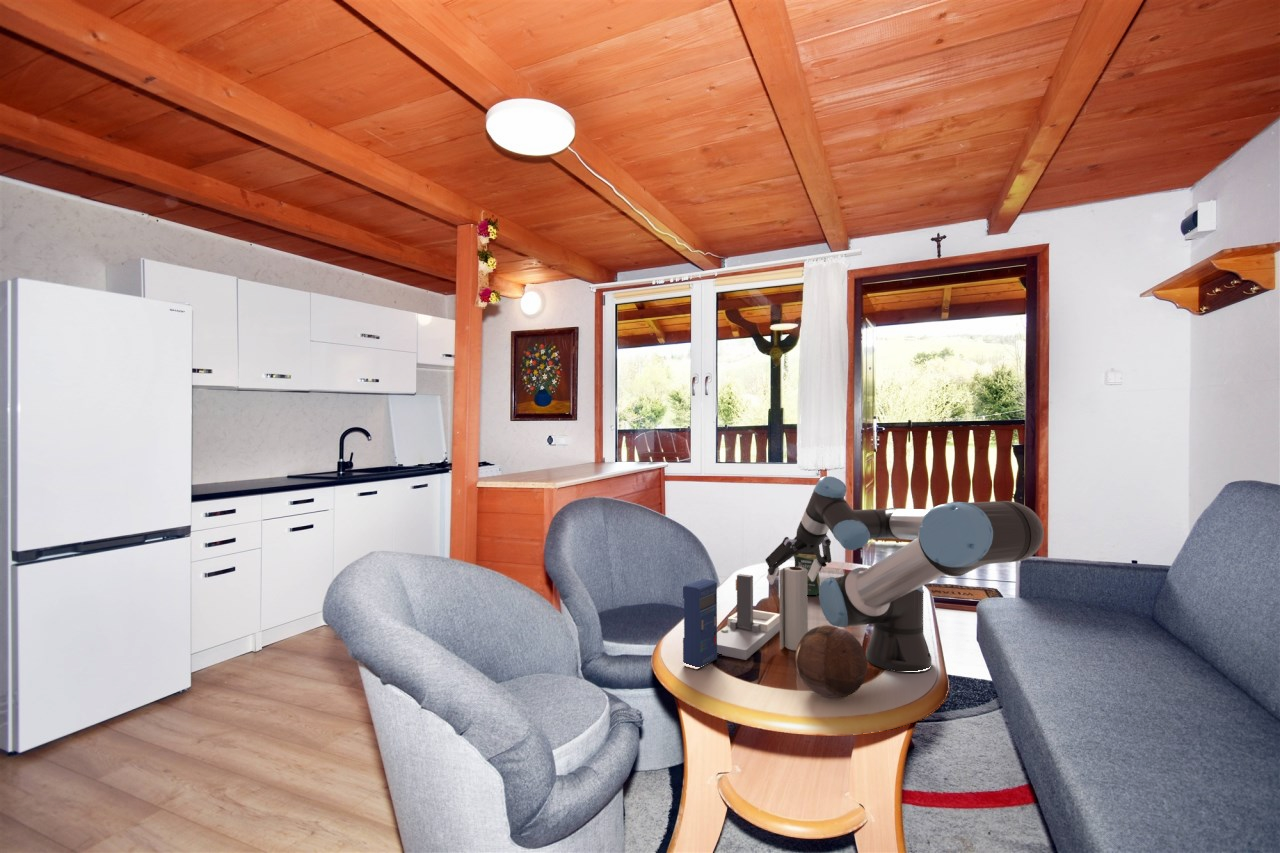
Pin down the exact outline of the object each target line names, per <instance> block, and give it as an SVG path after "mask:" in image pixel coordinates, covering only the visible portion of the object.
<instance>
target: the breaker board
mask: <svg viewBox="0 0 1280 853" xmlns="http://www.w3.org/2000/svg"><path fill="white" fill-rule="evenodd" d="M778 633H780V613H776V612H769V611H763V610H757V609H753V625H752V630H749V629H744V628H738V627H737V611H736V612H734V613H733V614H731V616H729V617H728V618H727V625H726V626H724V627H722V628H721V629H720V630H717V653H719V654H722V655H721V656H724V657H730V658H735V659H740V660H745V661H747V660H748V659H749V658H751V656H753V654H754V653H756V652H757V651H758V650H760V649H761V647H763V646H764V645H765V644H766V643H767V642H768V641H769V640H771V639H772V638H773V637H774V636H775V635H776V634H778ZM719 654H718V655H719Z"/></svg>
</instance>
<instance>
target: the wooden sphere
mask: <svg viewBox="0 0 1280 853" xmlns="http://www.w3.org/2000/svg"><path fill="white" fill-rule="evenodd" d="M795 665H796V666H795V667H796V670H797V673H798V675H799V677H800V680H802V682H803V683H804V684H805V685H806V687H808V689H810V690H811V691H812V692H813V693H815V694H816V695H818V696H821V697H823V698H828V699H833V700H834V699H835V700H836V699H843V698H846V697H847V698H848V697H849V696H852V695H853V694H854V693H856V692H857V691H858V690H859V689H860V688H861V686H862V685H863V683H864V681H865V679H866V676H867V672H868V660H867V658H866V652H865V650H864V648H863V646H862V644H861V643H860V641H859V640H858V638H856V636H854V635H853V634H852V633H851V632H850V631H848V630H847V629H844V628H843V627H837V626H833V625H831V624H830V625H828V624H824V625H819V626H816V627H812V628H811V629H810V630H809V629H808V632H807V633H806V634H805V635H804V636H803V637H802V638H801V640H800V641H799V643H798V646H797V649H796V651H795Z"/></svg>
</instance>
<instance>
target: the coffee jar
mask: <svg viewBox="0 0 1280 853" xmlns="http://www.w3.org/2000/svg"><path fill="white" fill-rule="evenodd" d="M793 548H794V550H795V551H797V549H796V548H795V546H794V547H793ZM817 550H818V551H819V553H820V554H821V550H820V545H819V546H818V547H817ZM793 559H794V567H802V568H806V569H807V574H808V572H809V570H810V568H811V566H812V564H813V561H814V559H817V560H818V558H817V557H816V555H815V553H814V552H813V551H811V552H810V553H806V552H805V553H800V554H798V555H797V556H795V555H794V556H793ZM820 582H821V581H820V571H819V572H818V574H817V576H816V578H815V580H814V581H811V580H810V578H809V576H808V575H807V595H816V596H818V595H817V594H819V590H820V585H821V583H820Z"/></svg>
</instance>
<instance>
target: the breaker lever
mask: <svg viewBox="0 0 1280 853" xmlns="http://www.w3.org/2000/svg"><path fill="white" fill-rule="evenodd" d="M735 591H736V612H737V627H738V628H744V629H749V630H752V625H753V610H754V576H753V575H751V574H744V573H743V574H741V573H738V574H737V575H736V579H735Z"/></svg>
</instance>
